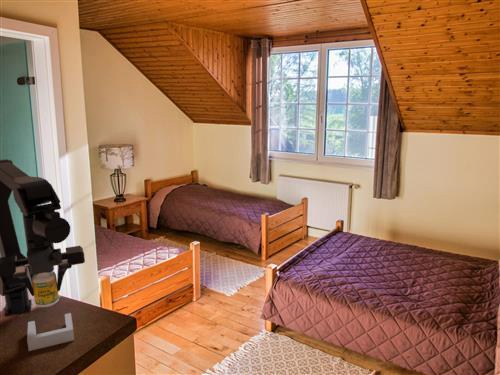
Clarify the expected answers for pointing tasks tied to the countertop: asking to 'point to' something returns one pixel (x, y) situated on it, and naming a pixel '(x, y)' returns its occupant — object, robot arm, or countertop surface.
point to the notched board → (49, 335)
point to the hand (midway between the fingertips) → (46, 292)
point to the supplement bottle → (45, 289)
